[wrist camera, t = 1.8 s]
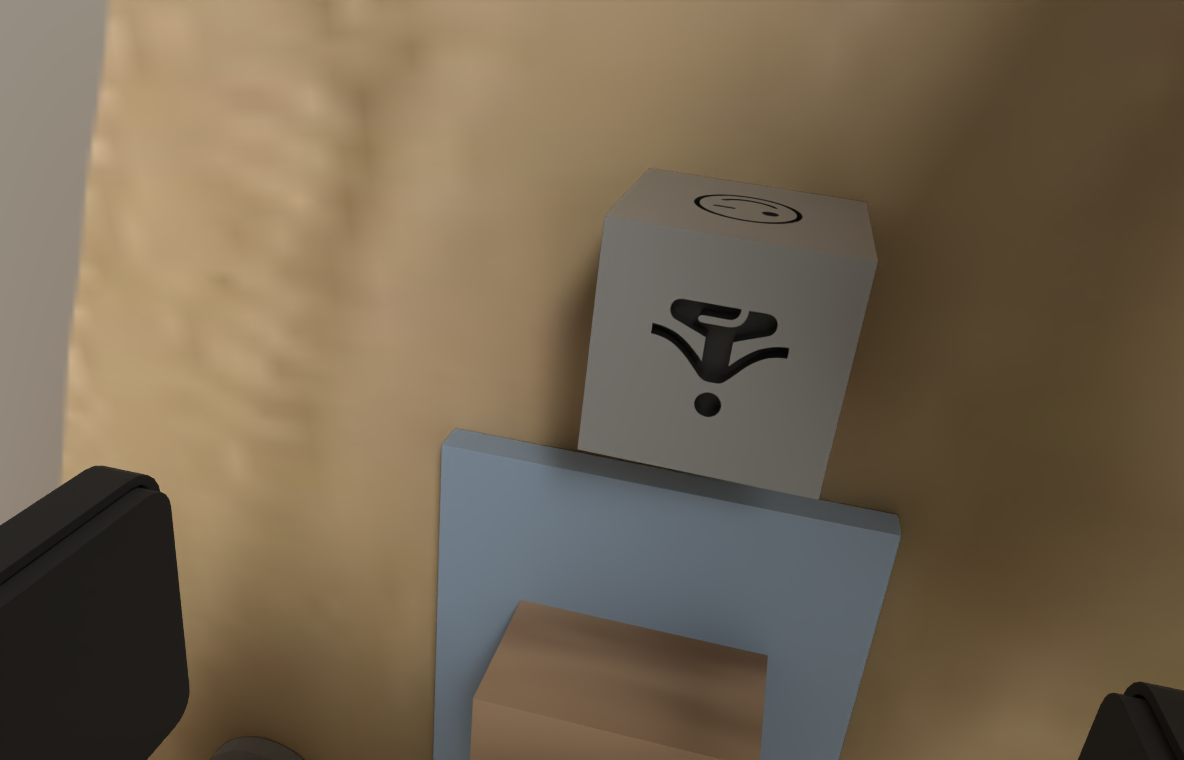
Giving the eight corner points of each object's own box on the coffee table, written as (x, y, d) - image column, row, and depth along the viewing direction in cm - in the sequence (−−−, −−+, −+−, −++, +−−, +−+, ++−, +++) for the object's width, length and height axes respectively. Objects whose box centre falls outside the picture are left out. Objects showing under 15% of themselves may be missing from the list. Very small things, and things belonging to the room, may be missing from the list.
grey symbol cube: (866, 201, 21) (877, 261, 16) (819, 398, 23) (818, 500, 18) (649, 167, 22) (604, 215, 17) (623, 361, 24) (577, 449, 19)
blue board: (455, 428, 25) (441, 444, 25) (898, 515, 23) (901, 535, 23) (441, 830, 32) (430, 855, 31) (785, 924, 30) (784, 954, 29)
